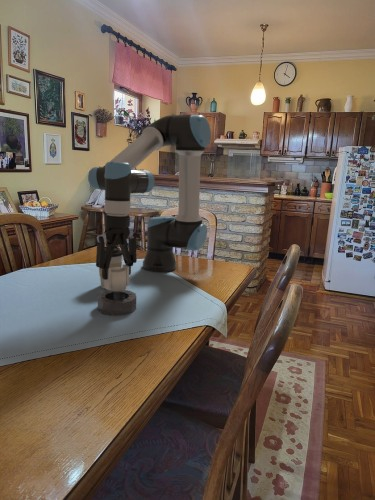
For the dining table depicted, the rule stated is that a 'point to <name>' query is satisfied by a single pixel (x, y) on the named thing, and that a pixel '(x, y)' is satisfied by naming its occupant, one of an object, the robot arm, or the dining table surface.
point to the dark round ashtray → (116, 302)
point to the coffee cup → (113, 262)
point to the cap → (118, 279)
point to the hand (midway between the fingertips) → (116, 286)
